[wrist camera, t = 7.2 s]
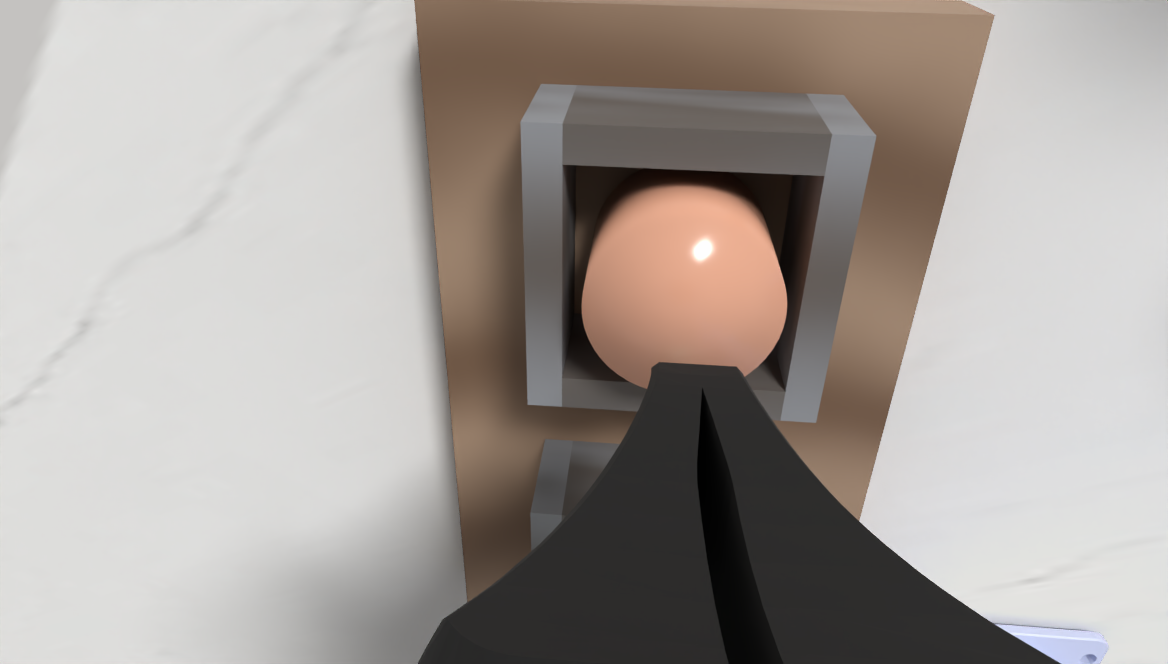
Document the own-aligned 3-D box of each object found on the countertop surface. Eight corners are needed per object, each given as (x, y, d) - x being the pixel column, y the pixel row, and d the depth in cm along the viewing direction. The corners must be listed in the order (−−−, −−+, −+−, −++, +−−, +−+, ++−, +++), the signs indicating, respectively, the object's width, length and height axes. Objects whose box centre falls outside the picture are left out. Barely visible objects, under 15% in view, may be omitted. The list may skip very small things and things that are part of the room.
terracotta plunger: (755, 323, 19) (771, 400, 16) (591, 314, 19) (580, 388, 17) (779, 163, 17) (802, 221, 14) (595, 155, 17) (582, 210, 14)
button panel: (813, 604, 28) (841, 738, 24) (480, 578, 29) (449, 704, 24) (962, 0, 18) (1058, 44, 13) (437, -15, 18) (369, 21, 14)
